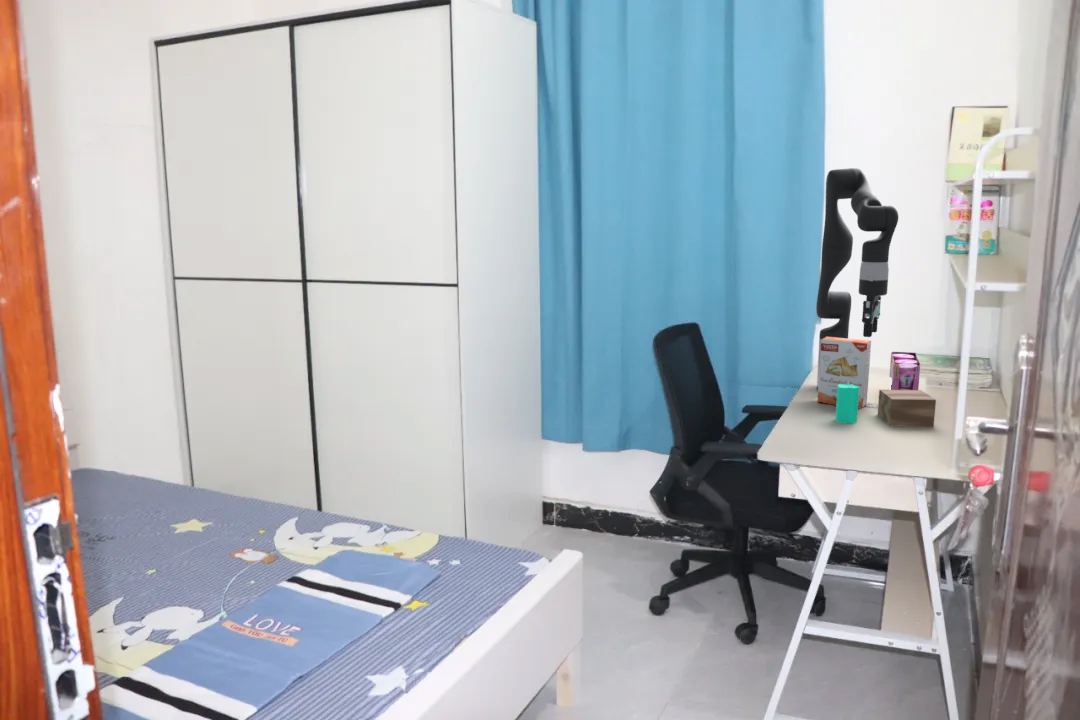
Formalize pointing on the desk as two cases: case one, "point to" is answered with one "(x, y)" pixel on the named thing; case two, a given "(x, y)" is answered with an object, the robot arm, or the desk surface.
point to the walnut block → (906, 408)
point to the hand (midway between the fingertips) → (870, 334)
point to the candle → (847, 403)
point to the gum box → (904, 371)
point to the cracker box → (843, 367)
